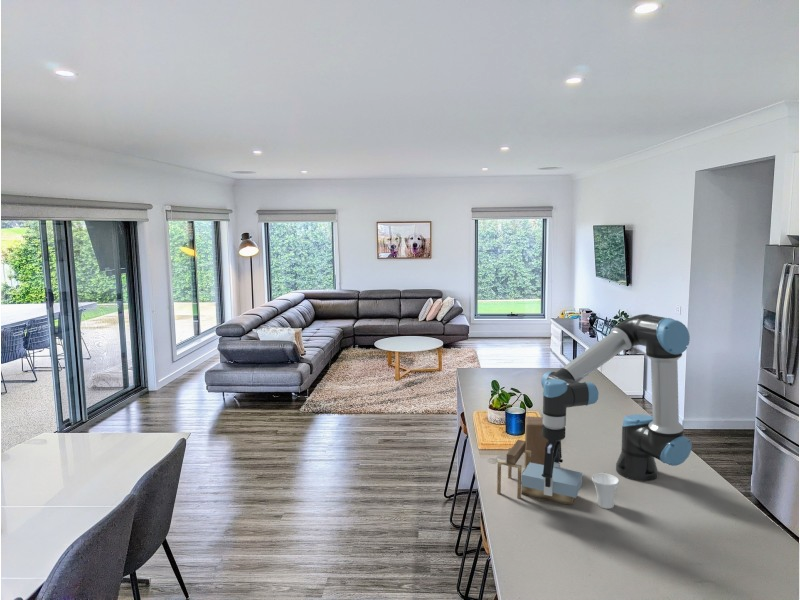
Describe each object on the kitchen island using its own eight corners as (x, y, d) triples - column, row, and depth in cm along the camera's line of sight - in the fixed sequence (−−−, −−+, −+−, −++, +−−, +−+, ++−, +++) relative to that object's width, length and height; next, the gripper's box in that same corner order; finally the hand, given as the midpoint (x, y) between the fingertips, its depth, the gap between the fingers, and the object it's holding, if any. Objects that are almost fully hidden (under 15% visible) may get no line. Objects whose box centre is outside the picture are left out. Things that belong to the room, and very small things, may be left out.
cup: (617, 500, 193) (618, 473, 191) (618, 513, 184) (619, 485, 183) (590, 496, 195) (591, 470, 194) (590, 509, 187) (592, 481, 185)
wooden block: (551, 474, 213) (552, 425, 211) (525, 472, 215) (526, 424, 213) (549, 463, 223) (550, 416, 220) (524, 461, 225) (525, 415, 222)
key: (525, 449, 207) (525, 441, 207) (514, 465, 194) (514, 455, 193) (517, 448, 208) (517, 439, 208) (506, 463, 195) (506, 454, 195)
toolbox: (577, 491, 200) (578, 459, 198) (570, 509, 186) (571, 476, 185) (508, 476, 212) (509, 447, 210) (497, 493, 198) (497, 461, 197)
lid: (581, 483, 185) (582, 472, 184) (576, 497, 175) (576, 486, 175) (529, 473, 193) (529, 462, 193) (521, 485, 183) (521, 474, 183)
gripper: (550, 413, 193) (548, 471, 196) (534, 435, 173) (532, 500, 176) (571, 416, 190) (569, 475, 193) (558, 439, 169) (555, 505, 172)
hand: (551, 487), depth 184 cm, fingers closed on lid, 11 cm apart
